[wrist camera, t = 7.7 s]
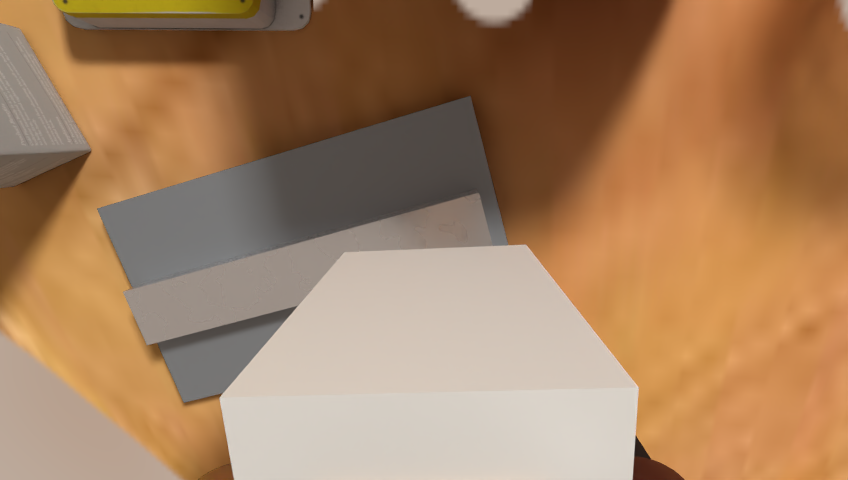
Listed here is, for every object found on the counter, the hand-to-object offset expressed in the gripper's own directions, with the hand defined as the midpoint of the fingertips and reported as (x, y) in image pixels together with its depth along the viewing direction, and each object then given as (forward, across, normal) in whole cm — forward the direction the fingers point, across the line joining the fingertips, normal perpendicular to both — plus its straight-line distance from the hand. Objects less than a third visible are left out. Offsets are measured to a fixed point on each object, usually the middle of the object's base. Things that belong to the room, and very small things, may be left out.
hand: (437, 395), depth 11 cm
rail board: (+18, +8, +1) cm, 19 cm away
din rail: (+16, +8, +1) cm, 18 cm away
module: (+2, 0, 0) cm, 2 cm away
